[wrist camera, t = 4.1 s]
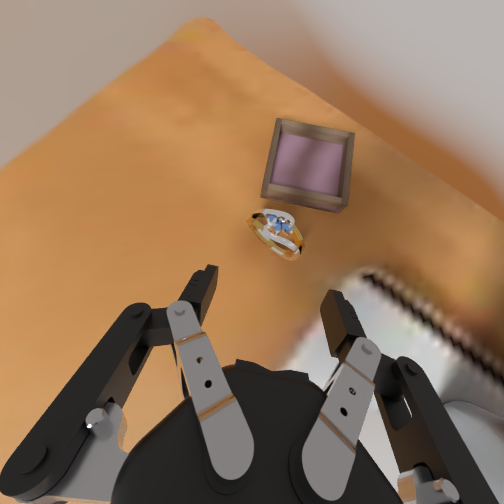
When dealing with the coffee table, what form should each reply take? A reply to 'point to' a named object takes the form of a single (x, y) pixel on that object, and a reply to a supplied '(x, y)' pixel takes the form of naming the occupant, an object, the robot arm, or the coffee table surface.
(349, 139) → the jewellery tray
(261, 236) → the ring
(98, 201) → the coffee table surface
